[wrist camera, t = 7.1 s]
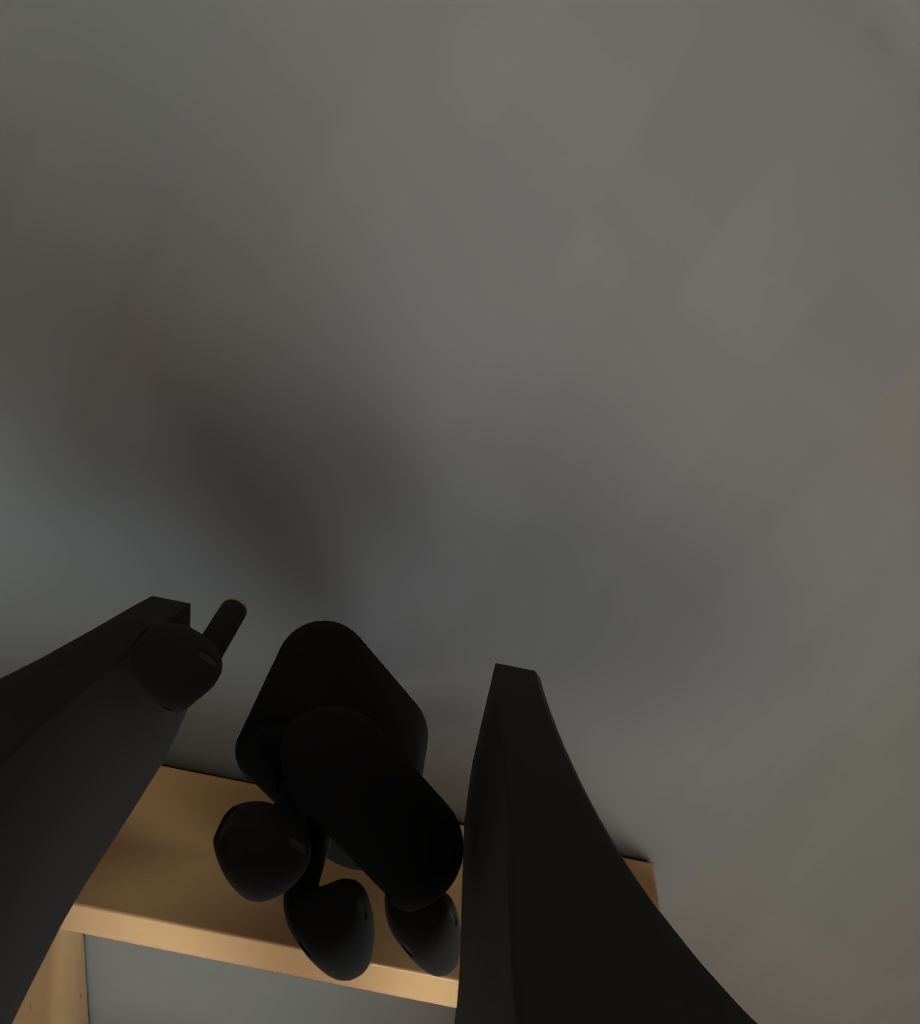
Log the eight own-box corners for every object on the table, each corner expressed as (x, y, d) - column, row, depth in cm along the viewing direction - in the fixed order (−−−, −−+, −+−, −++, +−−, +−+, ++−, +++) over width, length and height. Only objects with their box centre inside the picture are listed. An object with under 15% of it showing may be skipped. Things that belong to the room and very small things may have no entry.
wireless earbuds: (195, 545, 13) (21, 764, 9) (312, 467, 12) (190, 663, 8) (440, 819, 15) (405, 1107, 11) (552, 767, 15) (565, 1054, 10)
